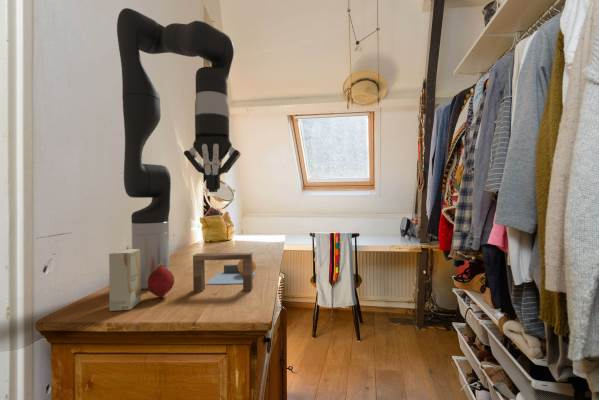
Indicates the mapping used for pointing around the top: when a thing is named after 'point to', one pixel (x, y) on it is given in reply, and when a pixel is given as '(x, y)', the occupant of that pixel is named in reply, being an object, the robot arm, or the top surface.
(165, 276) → the onion
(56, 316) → the top surface
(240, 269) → the ball
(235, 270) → the stopper strip
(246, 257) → the bridge
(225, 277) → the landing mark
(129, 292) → the skincare box
